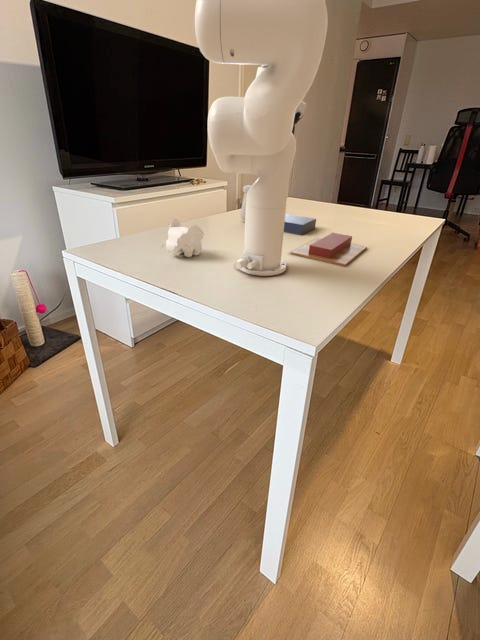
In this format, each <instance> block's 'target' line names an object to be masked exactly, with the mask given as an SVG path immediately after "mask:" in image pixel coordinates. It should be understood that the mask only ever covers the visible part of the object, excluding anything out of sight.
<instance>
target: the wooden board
mask: <svg viewBox="0 0 480 640" xmlns="http://www.w3.org/2000/svg"><path fill="white" fill-rule="evenodd" d="M322 238H323V237H317V238H315V239H313V240H311V241H309V242H308V243H306V244H304V245H302V246H299V247H298V248H296V249H294V250H292V251H291V252H290V255H294V256H297V257H298V256H299V257H302V258H306V259H311V260H316V261H321V262H325V263H330V264H334V265H338V266H342V267H347V265H349V264H350V263H352V261H353V260H355V259H356V258H357V257H359V255H361V254H362V253H363V252H364V251H366V250H367V246H364V245H360V244H354V243H351V244H350V245H349V246H347V247H346V248H345V249H343V250H342V251H340V252H339V253H337V254H336V255H334V256H333V257H332V258H325V257H321V256H316V255H312V254H308V253H309V246H310V245H311V244H313V243H315V242H317V241H318V240H320V239H322Z"/></svg>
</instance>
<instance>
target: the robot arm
mask: <svg viewBox="0 0 480 640" xmlns="http://www.w3.org/2000/svg"><path fill="white" fill-rule="evenodd" d="M195 1H196V2H195V8H194V9H195V10H194V30H195V32H194V33H195V38H196V43H197V47H198V48H199V52H200V53H201V54H202V55H203V57H204V58H205V59H206V60H208V61H210V62H212V63H214V64H220V65H221V64H223V65H252V66H258V67H257V70H256V74H255V79H253V81H252V82H251V83H250V85H249V86H248V88H247V89H246V92H245V94H244V96H223V97H222V96H221V97H218V98H217V99H215V100H214V101H213V102H212V104H211V105H210V108H209V111H208V114H207V136H208V141H209V146H210V149H211V151H212V153H213V156H214V159H215V161H216V164H217V166H218V167H219V170H221V171H222V172H223V173H229V174H244V175H255V176H258V178H257V179H256V180H255V182H253V183H252V185H250V186H251V187H250V189H249V190H248V192H247V195H246V211H245V223H244V237H243V239H244V240H243V243H244V244H243V252H242V256H241V258H240V259H238V260H237V261H235V262H234V264H233V265H234V267H235V268H236V270H239V271H240V272H243V273H245V274H249V275H253V276H259V277H261V276H262V277H270V276H278V275H280V274H282V273H284V272H285V271H286V270H287V263H286V262H285V261H284V260H283V259H282V254H283V252H282V251H283V243H284V242H283V241H284V233H285V232H284V222H285V214H286V213H287V212H286V211H287V202H288V201H287V199H288V193H289V185H290V178H291V175H292V174H291V173H292V170H293V165H294V161H295V156H296V151H297V140H296V136H295V129H296V126H297V125H298V122H299V121H300V120H301V119H302V118H303V116H304V114H305V112H306V110H307V108H308V104H307V103H306V102H304V101H303V100H304V98H305V97H306V95H307V94H308V91H309V90H310V88H311V86H312V84H313V82H314V80H315V79H316V78H315V77H316V75H317V73H318V70H319V67H320V63H321V60H322V57H323V52H324V48H325V44H326V37H327V34H328V33H327V32H328V8H327V4H326V0H195Z"/></svg>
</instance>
